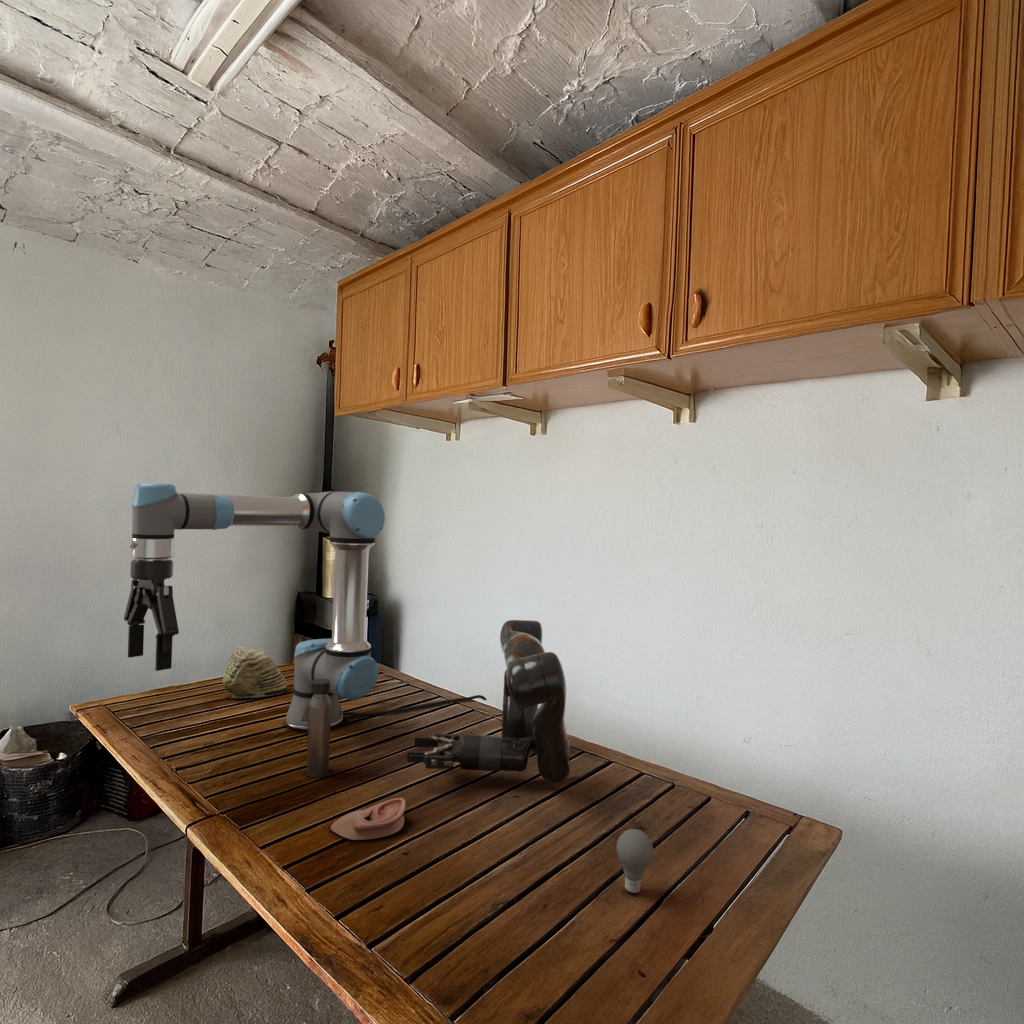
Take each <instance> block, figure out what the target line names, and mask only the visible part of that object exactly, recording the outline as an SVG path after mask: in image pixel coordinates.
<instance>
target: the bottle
mask: <svg viewBox="0 0 1024 1024" xmlns="http://www.w3.org/2000/svg"><path fill="white" fill-rule="evenodd" d="M330 725H331V700H330V698H329V697H328V695H327V694H323V695H316V694H314V695H313V697H312V699H311V701H310V703H309V720H308V732H307V748H306V749H307V751H306V775H307V776H308V777H310V778H323V777H325V776H327V775H328V774H329V772H330V749H331V748H330V745H331V729H330Z"/></svg>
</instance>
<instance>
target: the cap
mask: <svg viewBox="0 0 1024 1024" xmlns="http://www.w3.org/2000/svg"><path fill="white" fill-rule="evenodd" d="M330 685H331V680H329V679H315V680H312V683H311V693H312V694H316V695H323V694H328V693H330Z"/></svg>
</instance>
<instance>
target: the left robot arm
mask: <svg viewBox="0 0 1024 1024" xmlns="http://www.w3.org/2000/svg"><path fill="white" fill-rule="evenodd" d="M131 508H132V509H131V510H132V511H131V512H132V513H131V514H132V515H131V518H132V519H131V520H132V522H131V523H132V524H131V543H129V544H128V547H129V548H130V549H131V554H130V555H131V558H133V559H132V560H131V561H130V573H129V574H130V578H131V582H130V584H131V585H130V592H129V596H128V601H127V603H126V607H125V612H124V616H123V620H124V622H126V624H127V626H128V638H127V639H128V640H127V658H137V657H142V656H144V641H145V625H144V624H146V619H145V617H146V615H147V612H148V611H149V610H151V613H152V616H153V620H154V623H155V626H156V630H157V634H156V635H155V636H154V638H155V639H156V640H155V665H154V666H155V669H154V670H155V671H156V672H159V671H164V670H170V669H172V664H173V663H172V661H173V637H175V636H176V635H179V632H180V631H179V625H178V619H177V613H176V607H175V602H174V591H173V585H165V580H167V579H171V578H172V577H173V575H174V561H173V560H172V558H173V557H174V556H175V530H177V531H178V530H213V531H215V530H225V529H228V528H230V526H233V527H234V526H237V527H238V526H239V527H243V526H246V527H247V526H249V527H250V526H257V527H259V526H261V527H262V526H268V527H269V526H276V527H277V526H281V527H284V526H285V527H286V526H287V527H288V526H289V527H290V526H291V527H293V528H294V529H296V530H308V531H309V530H310V531H316V532H319V533H325V534H329V544H330V545H331V546H332V547H333V548H334V550H335V552H334V555H335V556H334V577H333V599H332V600H333V601H332V602H333V603H332V625H331V626H332V627H331V628H332V629H331V638H317V639H308V640H304V641H300V642H299V643H297V645H296V646H295V650H294V655H293V657H294V672H293V673H294V674H293V695H292V696H293V697H292V699H291V702H290V704H289V708H288V711H287V713H286V715H285V726H286V728H287V729H289V730H291V731H294V732H295V731H296V732H301V733H308V720H309V703H310V701H311V699H312V697H313V695H314V694H312V693H311V683H312V680H315V679H329V680H331V685H330V693H328V694H327V695H328V697H329V698H330V700H331V725H330V730H332V729H335V728H337V727H339V726H340V725H342V723H343V722H344V716H355V717H363V716H364V717H365V716H367V717H368V716H377V715H387V714H395V713H401V712H407V711H412V710H413V711H414V710H418V709H422V708H427V707H433V706H438V705H443V704H450V703H456V702H465V701H472V700H475V699H481V700H483V701H488V699H487V698H486V697H485V696H484V695H481V694H476V695H472V696H468V697H459V698H451V699H446V700H445V699H444V700H440V701H439V700H438V701H434V702H429V703H423V704H418V705H413V706H408V707H399V708H395V709H387V710H378V711H377V710H376V711H365V712H354V711H343V709H342V706H341V702H340V699H339V698H341V699H342V700H343V699H344V700H348V701H349V700H350V701H357V700H360V699H362V698H364V697H365V696H367V695H368V694H370V692H371V690H372V689H374V687H375V685H376V683H377V682H378V678H379V674H380V672H379V671H380V670H379V669H380V668H379V665H378V662H376V660H375V659H374V657H372V656H371V655H372V654H371V652H372V644H371V643H370V642H369V641H368V640H367V639H366V631H367V607H368V606H367V605H368V604H367V602H368V582H369V581H368V579H369V555H370V550H371V548H372V547H374V545H376V537H377V536H378V535H380V533H381V530H383V528H384V526H385V522H386V513H385V510H384V507H383V505H382V503H381V502H380V501H379V500H378V498H377V497H375V495H373V494H370V493H367V492H363V491H362V492H361V491H337V490H336V491H335V490H333V491H332V490H331V491H321V492H311V493H296V494H294V495H293V496H276V495H275V496H274V495H273V496H272V495H245V494H244V495H243V494H220V493H219V494H218V493H217V494H216V493H215V494H214V493H213V494H212V493H189V492H187V493H185V492H178V491H177V488H176V486H175V485H174V484H172V483H152V482H139V483H137V484H136V485H135V486H134V488H133V494H132V502H131Z"/></svg>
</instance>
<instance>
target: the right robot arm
mask: <svg viewBox="0 0 1024 1024" xmlns="http://www.w3.org/2000/svg"><path fill="white" fill-rule="evenodd" d="M499 642H500V648H501V651H502V653H503V657H504V663H505V666H506V669H505V671H504V674H503V696H502V697H503V698H502V714H501V715H502V716H501V718H502V719H501V736H496V735H487V734H483V735H482V734H467V733H465V734H463V735H462V736H461V735H459V734H450V733H435V734H434V735H432V736H430V737H429V736H415V737H414V742H413V745H414V747H415V748H427V749H429V748H431V749H432V750H429V751H423V750H422V751H421V750H420V751H419V750H418V751H417V750H409V751H408V752H407V753H406V760H407V761H406V762H408V763H420V764H424V765H425V769H434V770H437V769H438V770H452V769H454V763H459V768H460V770H462V771H463V770H465V771H482V772H496V771H503V772H524V771H525V770H526V769H527V767H528V765H529V760H530V757H531V756H532V755H534V754H536V757H537V769H538V773H539V775H540V776H541V777H542V779H543V780H545V781H547V782H549V783H553V784H557V783H560V782H563V781H564V780H566V779H567V778H568V777H569V774H570V771H571V753H570V752H571V747H570V745H571V744H570V740H569V738H568V737H567V730H566V724H565V714H566V713H565V712H566V706H567V705H566V704H567V703H566V702H567V681H566V676H565V675H566V674H565V672H564V667H563V665H562V662H561V659H560V658H559V656H558V655H557V654H556V653H555V652H553V651H546V650H545V648H544V647H543V646H544V645H543V627H542V623H541V622H540V621H538V620H527V619H510V620H506V621H505V622H504V623H503V624H502V626H501V629H500V634H499ZM539 705H540V706H539Z"/></svg>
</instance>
